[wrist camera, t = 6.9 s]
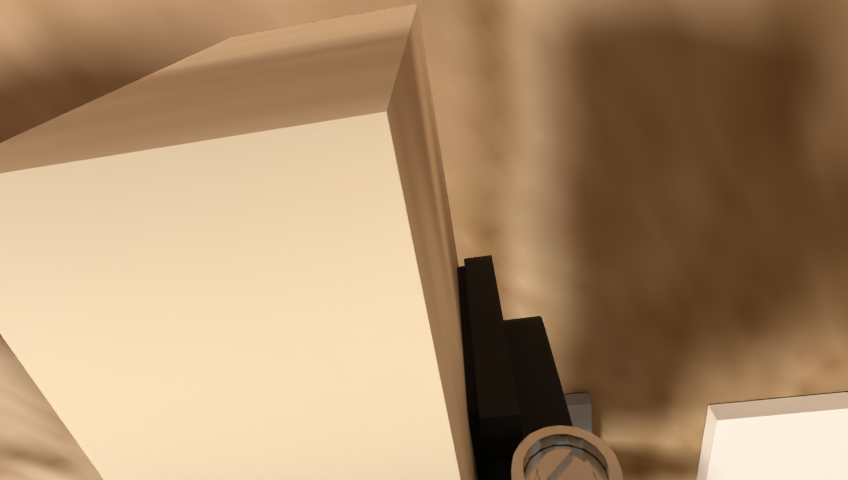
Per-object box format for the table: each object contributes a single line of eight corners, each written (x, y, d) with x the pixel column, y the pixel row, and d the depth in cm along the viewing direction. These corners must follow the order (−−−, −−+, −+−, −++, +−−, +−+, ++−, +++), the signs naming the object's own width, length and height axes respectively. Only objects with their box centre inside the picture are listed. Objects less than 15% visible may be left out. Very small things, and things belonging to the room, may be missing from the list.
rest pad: (708, 405, 22) (717, 420, 22) (886, 388, 22) (900, 403, 21) (687, 536, 27) (693, 552, 27) (830, 526, 27) (840, 542, 26)
